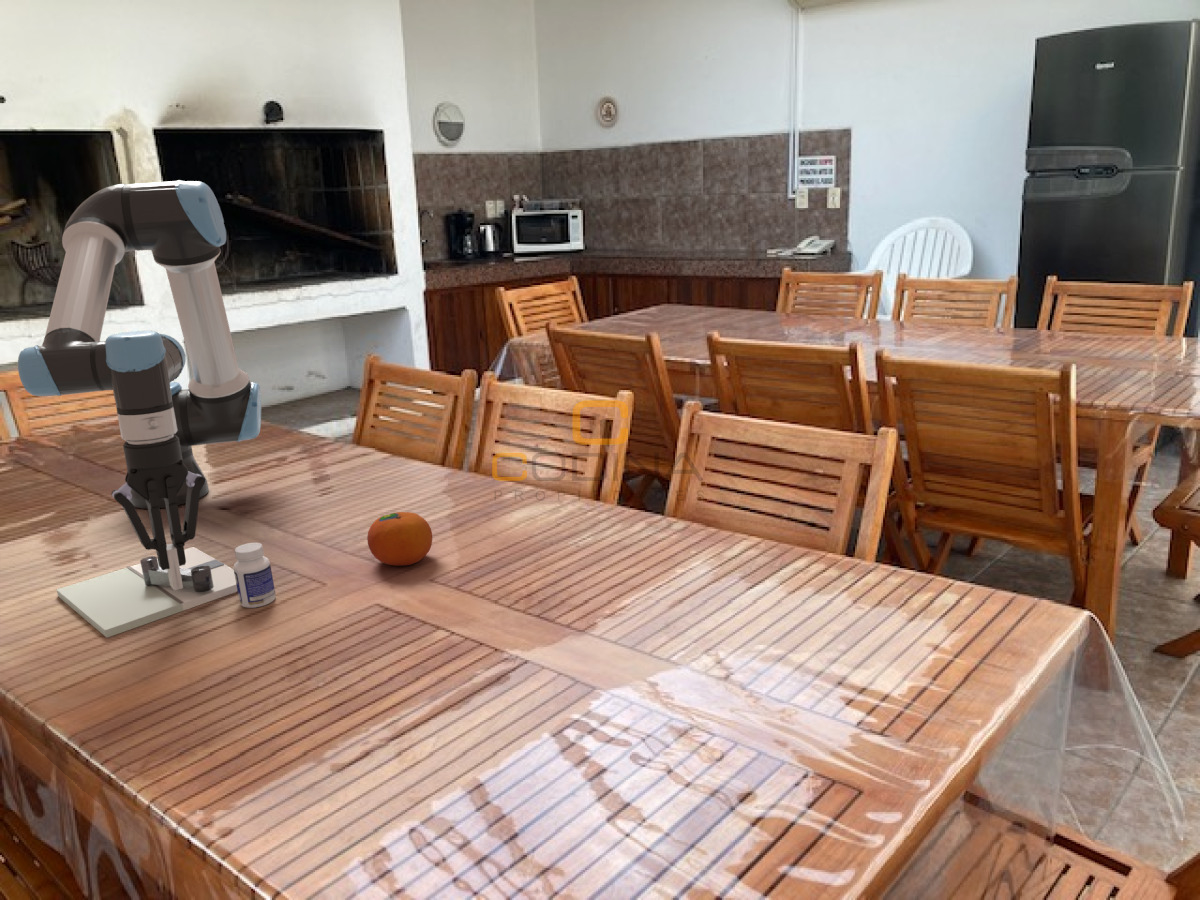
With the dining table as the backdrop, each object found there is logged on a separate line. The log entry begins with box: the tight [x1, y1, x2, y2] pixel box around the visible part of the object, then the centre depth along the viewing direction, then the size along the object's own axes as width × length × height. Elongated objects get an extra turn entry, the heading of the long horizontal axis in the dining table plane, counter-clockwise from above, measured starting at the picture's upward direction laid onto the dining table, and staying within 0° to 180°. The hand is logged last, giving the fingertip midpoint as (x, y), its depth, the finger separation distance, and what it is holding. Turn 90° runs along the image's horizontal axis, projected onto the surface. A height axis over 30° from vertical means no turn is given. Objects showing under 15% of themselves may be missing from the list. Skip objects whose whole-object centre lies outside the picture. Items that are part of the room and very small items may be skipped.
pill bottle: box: [233, 542, 277, 609], centre depth 142 cm, size 5×5×9 cm
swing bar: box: [140, 555, 214, 592], centre depth 146 cm, size 13×3×4 cm, turn 68°
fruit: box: [366, 511, 433, 567], centre depth 155 cm, size 11×10×8 cm
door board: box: [56, 546, 238, 638], centre depth 149 cm, size 22×22×1 cm
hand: (176, 586), depth 144 cm, fingers closed
